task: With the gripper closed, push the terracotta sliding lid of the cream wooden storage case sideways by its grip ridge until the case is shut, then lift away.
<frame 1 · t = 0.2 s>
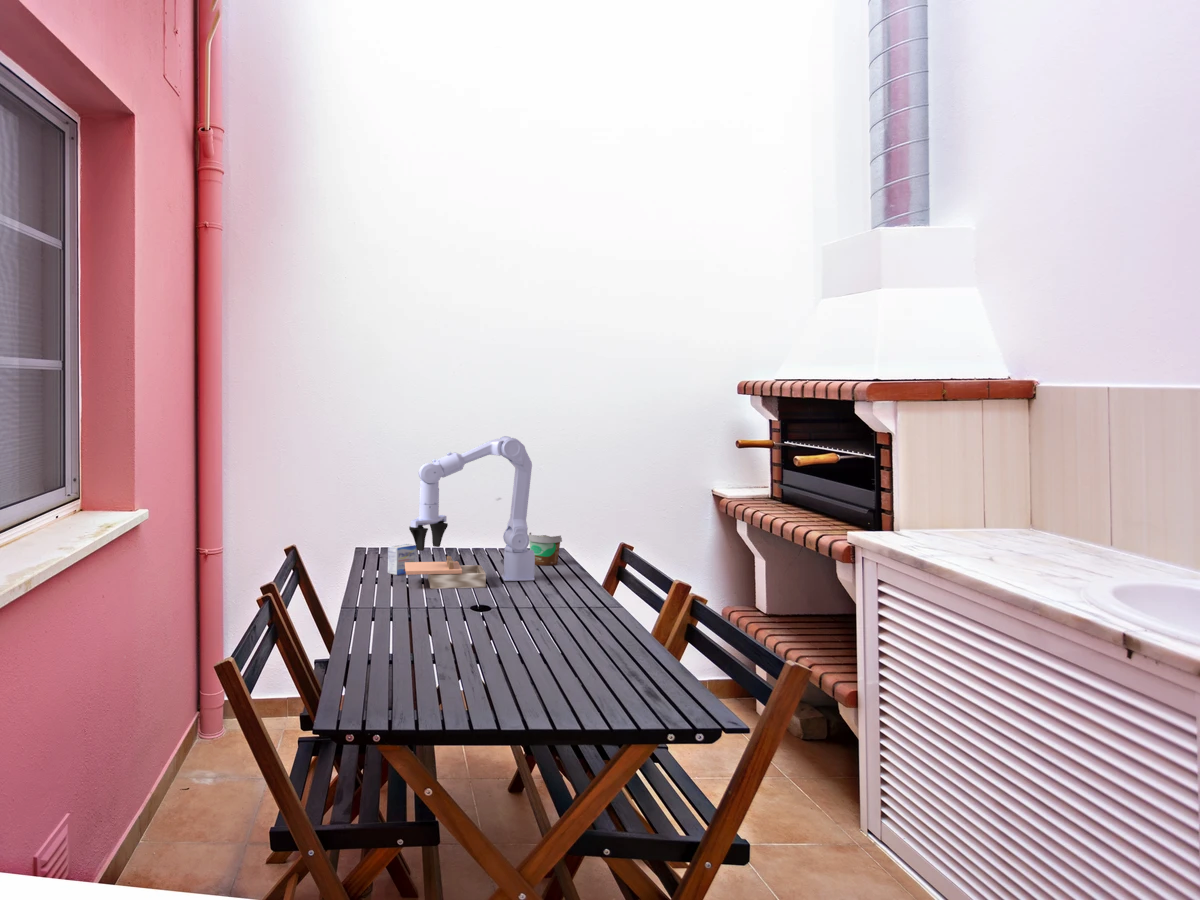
hand: (428, 548, 263), 10 cm above the table, fingers open, 7 cm apart
sliding lid: (432, 564, 262), point 6 cm above the table, slide at 7.0 cm
medicine box: (401, 573, 276), on the table
food container: (540, 565, 296), on the table
storage case: (456, 583, 264), on the table
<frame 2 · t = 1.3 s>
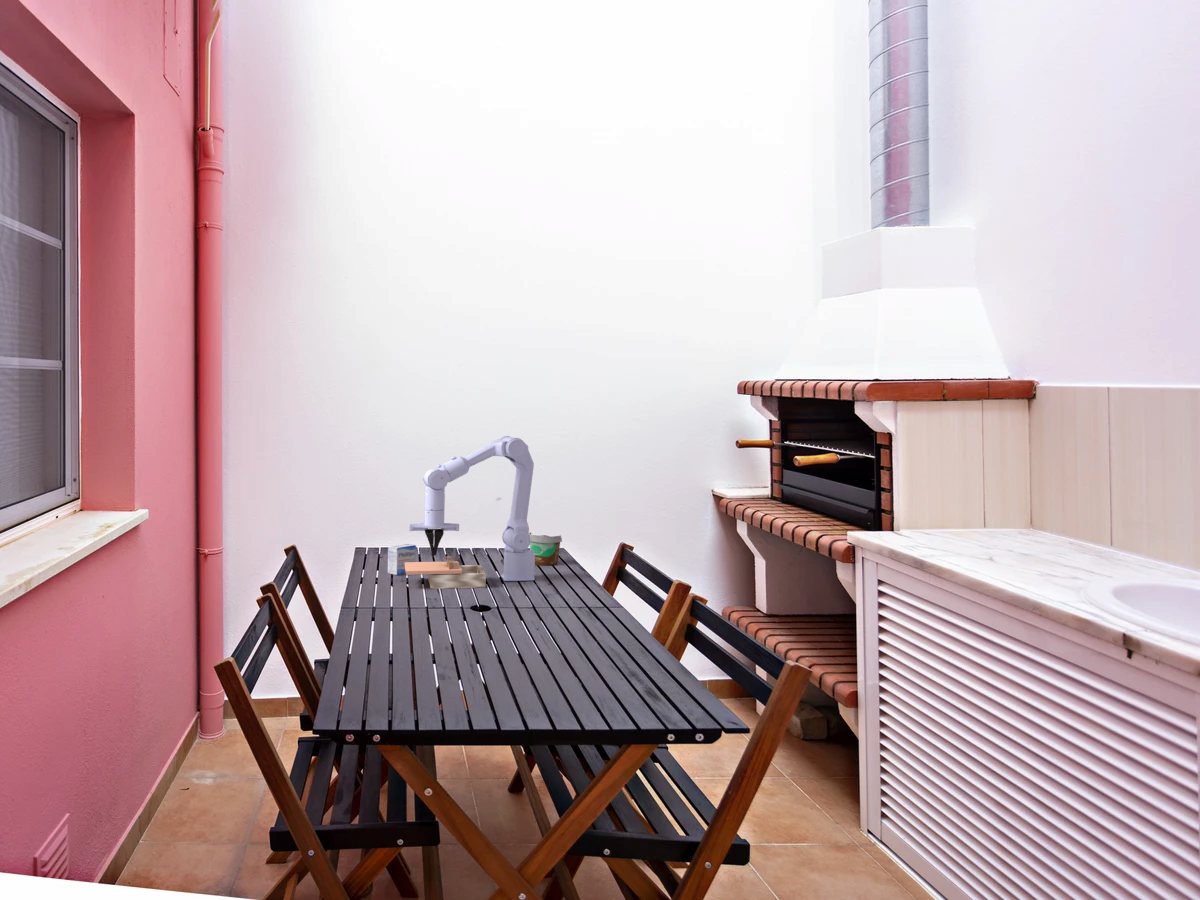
hand: (433, 554, 261), 9 cm above the table, fingers closed
nothing on the table moved.
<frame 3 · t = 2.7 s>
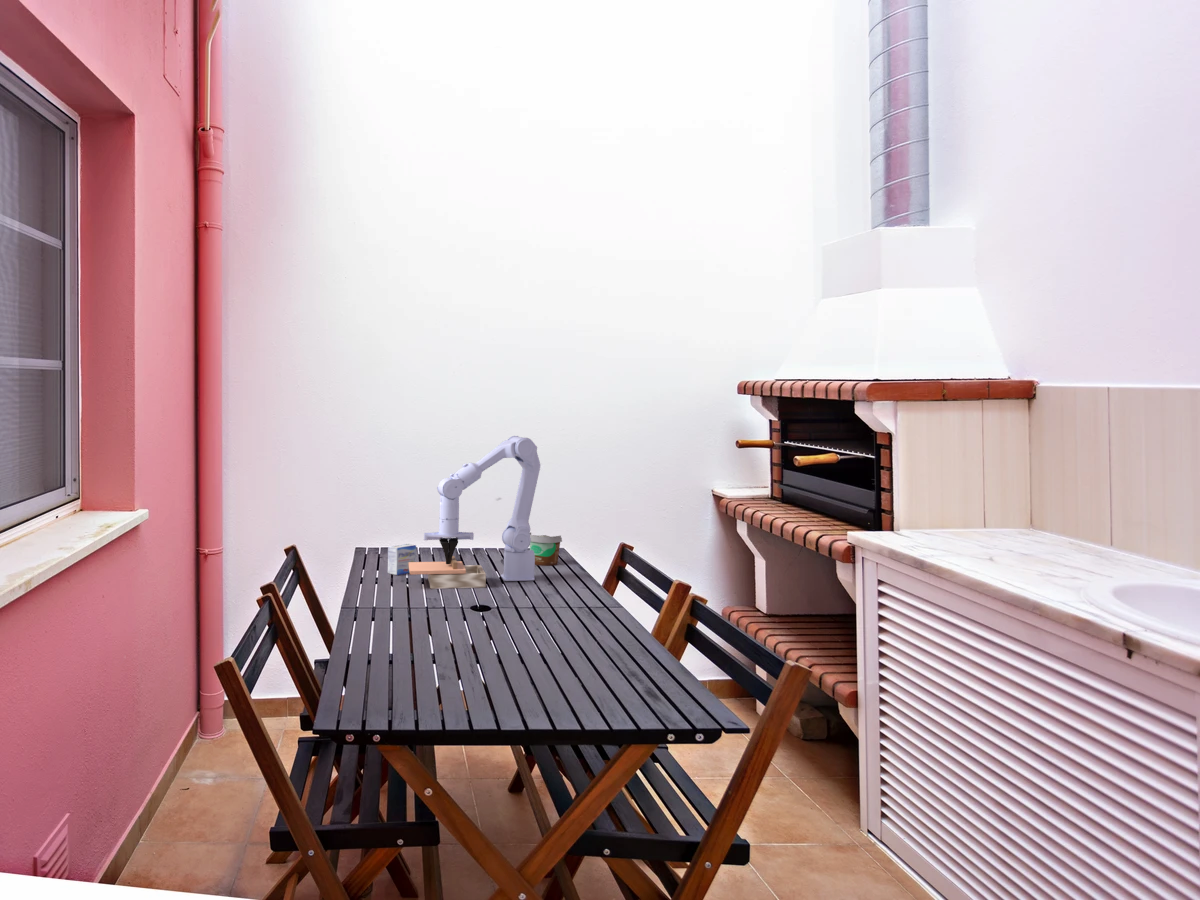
hand: (448, 563, 263), 6 cm above the table, fingers closed
sliding lid: (436, 564, 262), point 6 cm above the table, slide at 5.9 cm, touching gripper
everything else where it was.
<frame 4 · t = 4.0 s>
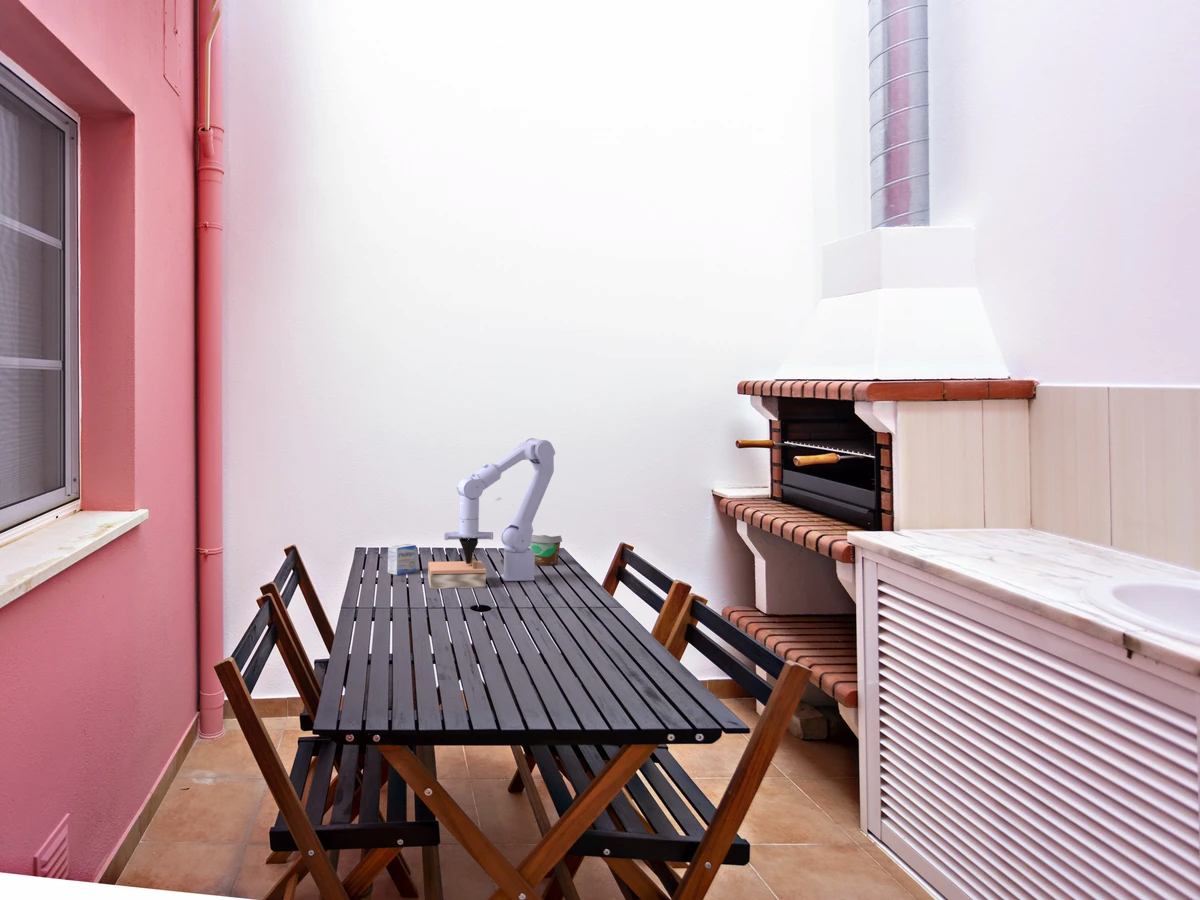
hand: (468, 563, 264), 6 cm above the table, fingers closed
sliding lid: (456, 564, 263), point 6 cm above the table, slide at 0.0 cm, touching gripper
everything else where it was.
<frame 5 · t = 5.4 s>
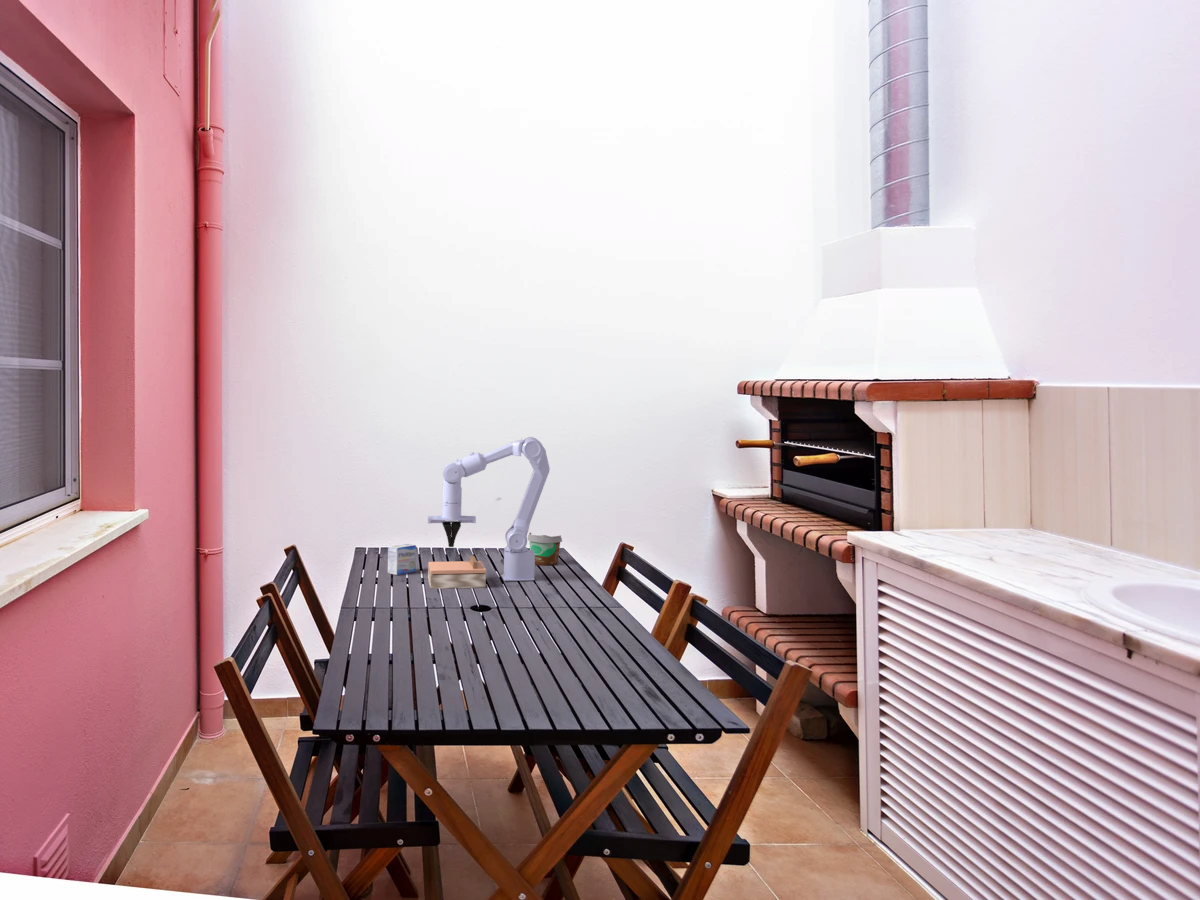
hand: (451, 546, 269), 10 cm above the table, fingers closed
sliding lid: (456, 564, 263), point 6 cm above the table, slide at 0.0 cm
everything else where it was.
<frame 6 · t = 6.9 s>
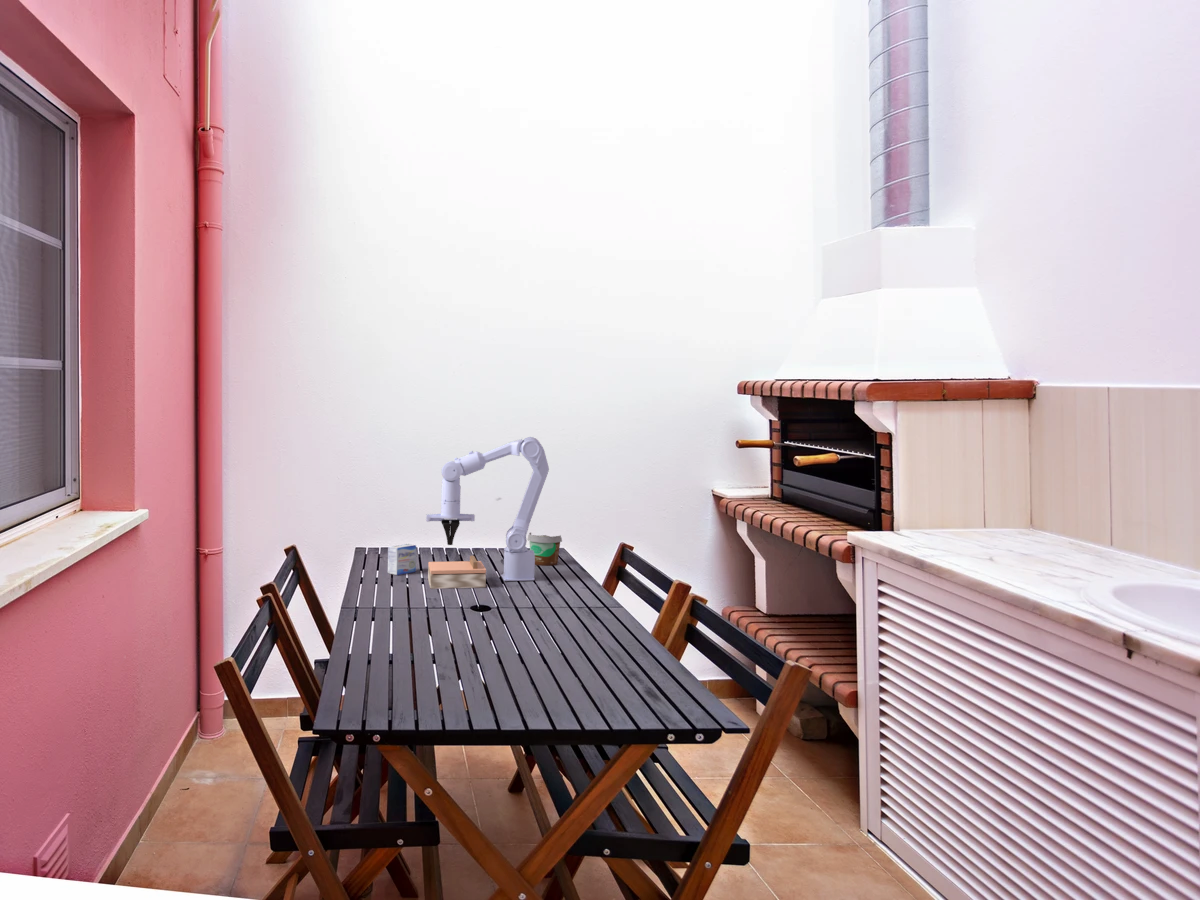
hand: (449, 544, 270), 10 cm above the table, fingers closed
nothing on the table moved.
at the end: sliding lid slide at 0.0 cm; medicine box moved 0.3 cm from its start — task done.
